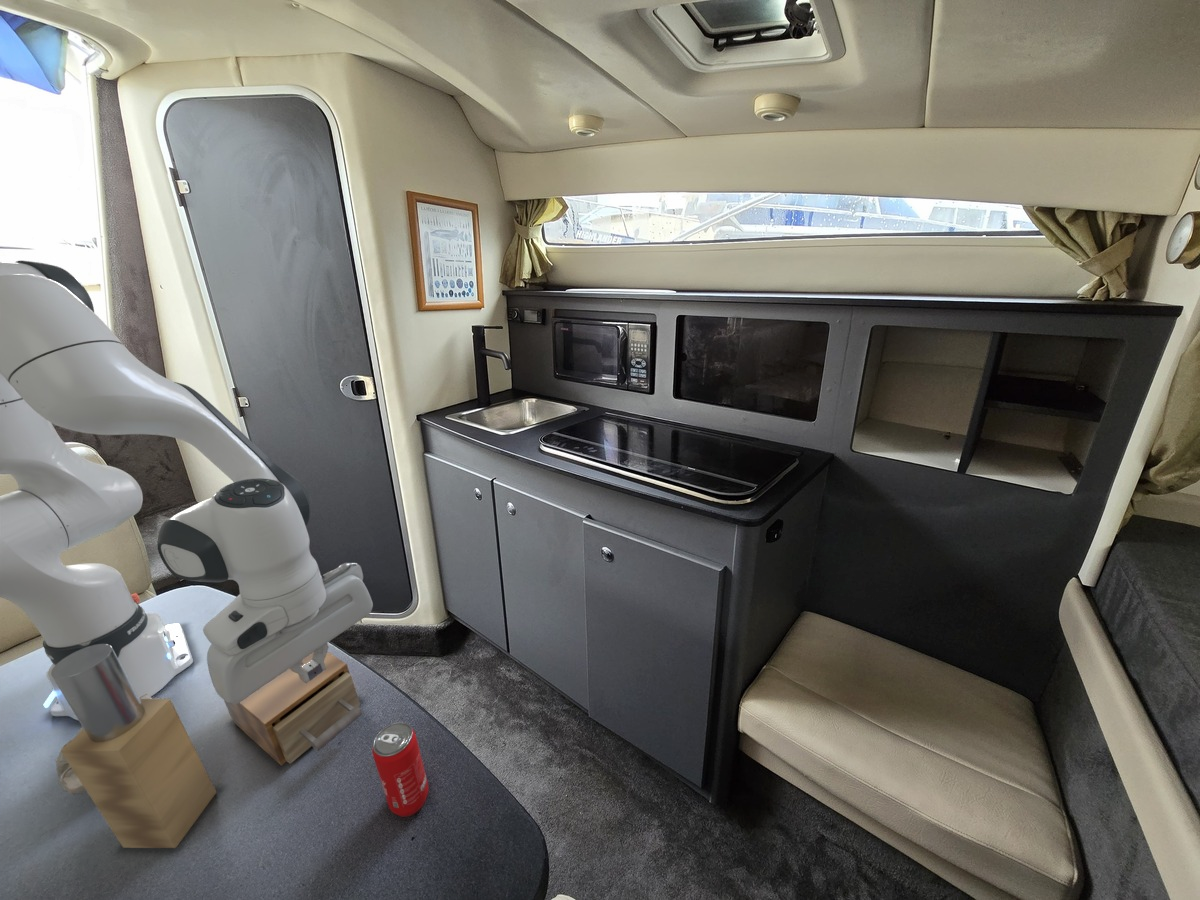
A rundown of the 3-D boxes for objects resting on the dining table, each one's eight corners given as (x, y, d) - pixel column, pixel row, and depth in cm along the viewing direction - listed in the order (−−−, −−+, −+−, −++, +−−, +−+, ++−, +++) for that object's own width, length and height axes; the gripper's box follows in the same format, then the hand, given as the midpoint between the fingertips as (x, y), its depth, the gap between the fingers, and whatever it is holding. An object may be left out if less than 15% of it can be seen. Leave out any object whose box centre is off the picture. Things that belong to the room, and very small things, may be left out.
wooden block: (123, 847, 63) (60, 750, 56) (168, 792, 70) (117, 698, 63) (175, 848, 63) (119, 750, 56) (216, 792, 69) (170, 698, 63)
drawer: (379, 719, 78) (370, 687, 76) (309, 781, 69) (296, 747, 67) (314, 673, 87) (304, 643, 85) (244, 723, 79) (230, 691, 76)
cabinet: (358, 702, 82) (346, 663, 79) (281, 766, 73) (264, 724, 69) (309, 668, 90) (297, 631, 86) (233, 722, 80) (215, 682, 77)
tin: (94, 719, 60) (57, 656, 56) (147, 698, 63) (115, 637, 59) (84, 750, 56) (44, 685, 52) (141, 727, 59) (107, 663, 55)
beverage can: (417, 823, 65) (399, 761, 60) (381, 816, 66) (362, 754, 61) (436, 784, 69) (422, 723, 65) (403, 778, 70) (386, 717, 66)
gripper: (344, 550, 75) (364, 622, 80) (186, 636, 59) (224, 719, 64) (370, 562, 72) (389, 636, 77) (211, 655, 56) (248, 741, 61)
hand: (313, 675), depth 70 cm, fingers closed
